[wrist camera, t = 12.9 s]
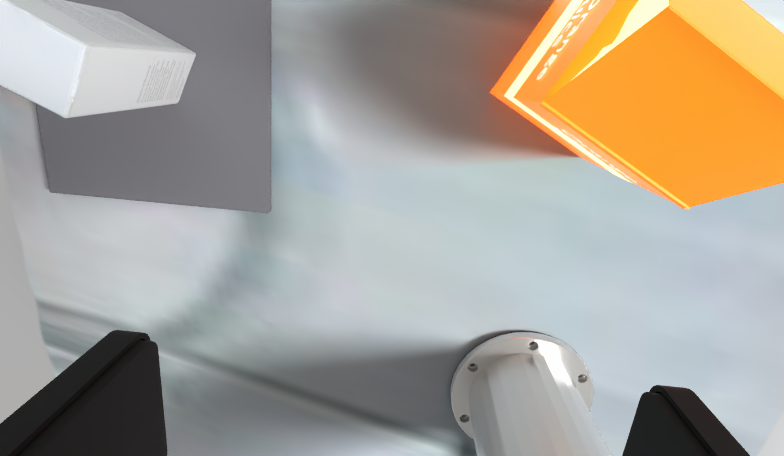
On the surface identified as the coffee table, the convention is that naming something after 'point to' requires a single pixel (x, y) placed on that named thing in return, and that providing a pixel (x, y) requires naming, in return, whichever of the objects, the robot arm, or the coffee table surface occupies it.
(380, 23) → the coffee table surface
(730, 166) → the orange juice
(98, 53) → the skincare box
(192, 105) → the mat
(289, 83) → the coffee table surface
